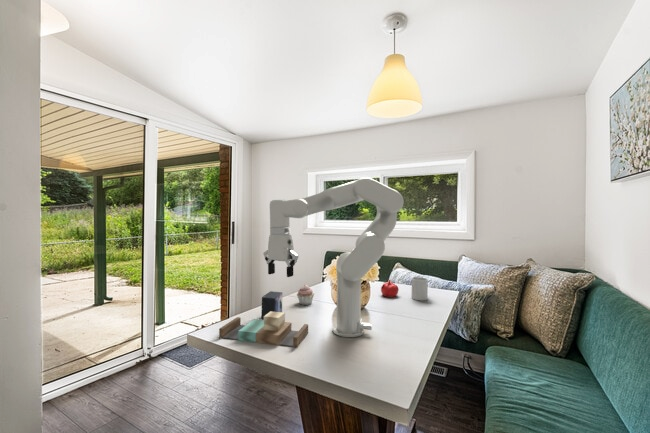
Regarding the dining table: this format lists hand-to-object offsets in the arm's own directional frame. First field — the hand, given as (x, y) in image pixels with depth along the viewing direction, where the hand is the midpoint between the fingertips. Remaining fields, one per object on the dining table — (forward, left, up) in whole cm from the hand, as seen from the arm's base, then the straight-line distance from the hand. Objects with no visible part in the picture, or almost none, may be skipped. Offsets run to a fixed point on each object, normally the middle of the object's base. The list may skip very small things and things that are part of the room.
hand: (280, 275), depth 119 cm
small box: (+10, -16, -23) cm, 30 cm away
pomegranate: (-40, -67, -23) cm, 81 cm away
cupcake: (+2, -40, -23) cm, 46 cm away
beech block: (+1, +4, -19) cm, 20 cm away
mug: (-57, -67, -23) cm, 91 cm away
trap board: (+5, +4, -23) cm, 24 cm away
